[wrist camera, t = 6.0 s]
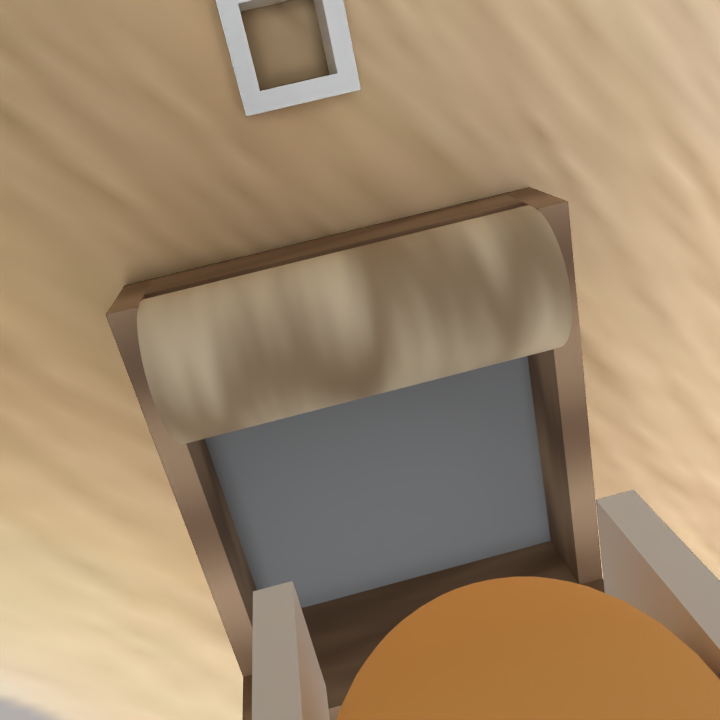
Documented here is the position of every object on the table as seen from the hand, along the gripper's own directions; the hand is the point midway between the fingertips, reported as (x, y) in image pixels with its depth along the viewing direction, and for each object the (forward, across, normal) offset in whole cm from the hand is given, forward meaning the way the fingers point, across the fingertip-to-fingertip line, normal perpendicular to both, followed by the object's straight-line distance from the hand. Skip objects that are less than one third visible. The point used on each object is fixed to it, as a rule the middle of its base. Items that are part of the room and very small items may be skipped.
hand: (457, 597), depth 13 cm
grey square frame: (+15, 0, +11) cm, 18 cm away
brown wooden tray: (+15, 0, -4) cm, 15 cm away
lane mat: (+15, 0, -4) cm, 15 cm away
